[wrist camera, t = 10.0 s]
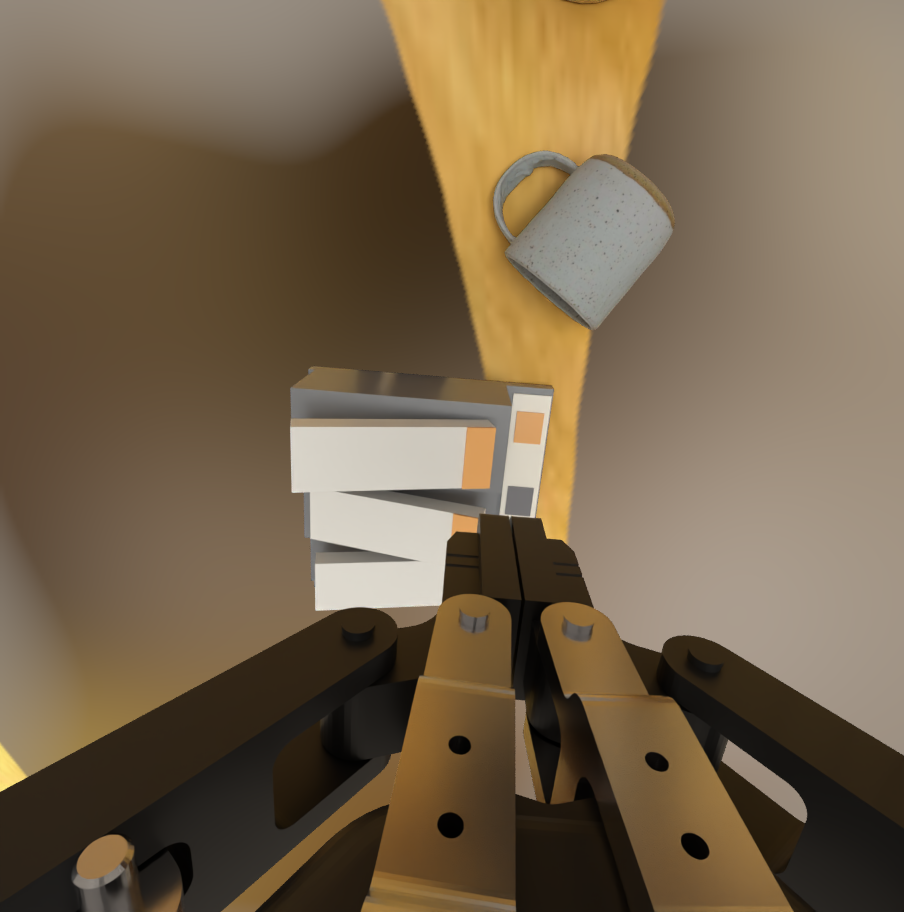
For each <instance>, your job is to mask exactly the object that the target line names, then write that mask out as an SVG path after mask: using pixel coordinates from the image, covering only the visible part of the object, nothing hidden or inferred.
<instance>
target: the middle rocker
mask: <svg viewBox="0 0 904 912" xmlns="http://www.w3.org/2000/svg"><path fill="white" fill-rule="evenodd" d="M485 511H486V508H481V507H476V506H470V505H465V504H459V503H453V502H448V501H442V500H437V499H431V498H426V497H420V496H414V495H409V494H403V493H398V492H392V491H387V490H374V491H336V492H310V539H315V540H319V541H324V542H329V543H334V544H339V545H344V546H349V547H354V548H359V549H363V550H368V551H373V552H378V553H383V554H388V555H393V556H398V557H402V558H407V559H412V560H417V561H422V562H427V563H432V564H437V565H442V566H445V559H446V547H447V541H448V540H449V539H450V538H451V536H452V535H453V534H454V533H455V532H456V531H459V532H471V533H477V525H478V517H479V513H481V514H485Z"/></svg>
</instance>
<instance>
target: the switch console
mask: <svg viewBox="0 0 904 912" xmlns="http://www.w3.org/2000/svg"><path fill="white" fill-rule="evenodd" d="M308 372H309V375H308V376H306V377H305V378H303V379H302V380H300V381H299V382H298V383H296V384H295V385H294V386H292V387H291V419H466V420H489V421H490V422H491V423H492V424H493V425H494V426H495V427H496V434H495V443H494V452H493V461H492V471H491V480H490V488H487V489H462V488H450V489H412V490H387V491H392V492H398V493H403V494H409V495H414V496H420V497H426V498H431V499H437V500H442V501H448V502H453V503H459V504H465V505H470V506H476V507H481V508H486V511H485V514H493V515H504V516H509V519H510V517H511V516H517V517H529V518H536V511H537V504H538V497H539V490H540V483H541V476H542V469H543V462H544V455H545V448H546V441H547V434H548V427H549V420H550V414H551V407H552V400H553V393H554V389H553V387H552V386H548V385H536V384H524V383H512V382H500V381H488V380H476V379H463V378H451V377H439V376H427V375H415V374H403V373H390V372H379V371H366V370H354V369H343V368H331V367H319V366H312V367H311V368H310V369H309V370H308ZM304 529H305V530H304V534H305V537H307V538H310V492H304ZM366 551H368V550H363V549H359V548H354V547H349V546H344V545H339V544H334V543H329V542H324V541H319V540H315V539H311V581H314V587H315V560H316V553H322V552H366Z"/></svg>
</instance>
